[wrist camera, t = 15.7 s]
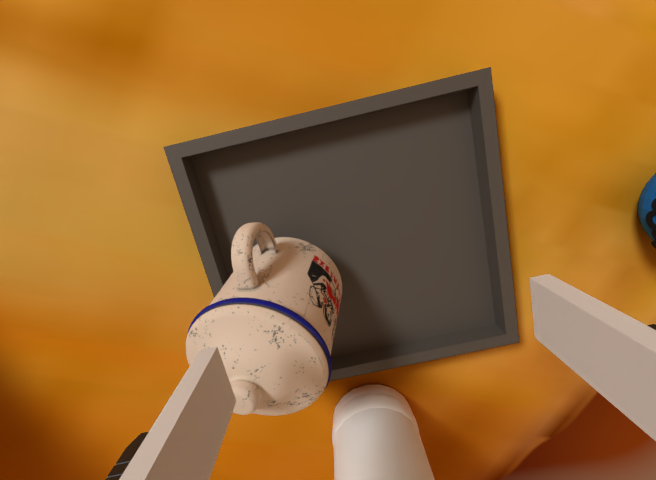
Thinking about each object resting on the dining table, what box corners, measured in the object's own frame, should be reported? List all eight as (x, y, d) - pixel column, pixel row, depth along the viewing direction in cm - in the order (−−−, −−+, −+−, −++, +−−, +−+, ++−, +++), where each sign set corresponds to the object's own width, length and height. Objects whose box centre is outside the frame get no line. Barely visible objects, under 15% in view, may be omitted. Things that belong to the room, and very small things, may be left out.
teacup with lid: (352, 322, 29) (335, 462, 19) (254, 325, 31) (189, 453, 21) (331, 190, 24) (291, 284, 14) (214, 202, 26) (103, 293, 16)
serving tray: (253, 379, 33) (248, 397, 30) (178, 147, 27) (163, 147, 25) (504, 327, 31) (519, 342, 29) (475, 75, 26) (490, 67, 24)
